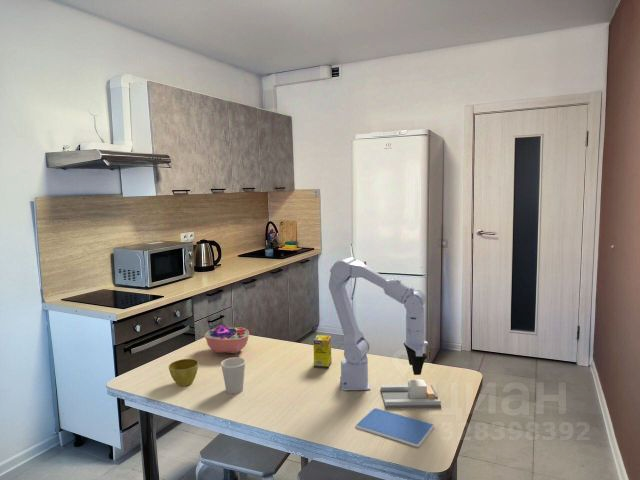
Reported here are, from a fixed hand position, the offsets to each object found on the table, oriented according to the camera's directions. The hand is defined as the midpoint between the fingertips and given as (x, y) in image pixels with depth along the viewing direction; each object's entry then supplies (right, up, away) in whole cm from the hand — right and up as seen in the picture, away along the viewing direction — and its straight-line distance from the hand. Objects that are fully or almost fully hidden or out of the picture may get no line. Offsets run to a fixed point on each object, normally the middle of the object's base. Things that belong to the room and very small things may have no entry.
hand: (414, 369), depth 144 cm
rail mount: (-2, -9, -1) cm, 9 cm away
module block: (0, -8, -1) cm, 8 cm away
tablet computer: (-10, -12, -18) cm, 23 cm away
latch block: (+4, -9, -1) cm, 10 cm away
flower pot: (-79, -9, +14) cm, 81 cm away
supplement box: (-30, -6, +27) cm, 41 cm away
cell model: (-69, -5, +44) cm, 82 cm away
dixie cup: (-60, -9, +8) cm, 61 cm away
